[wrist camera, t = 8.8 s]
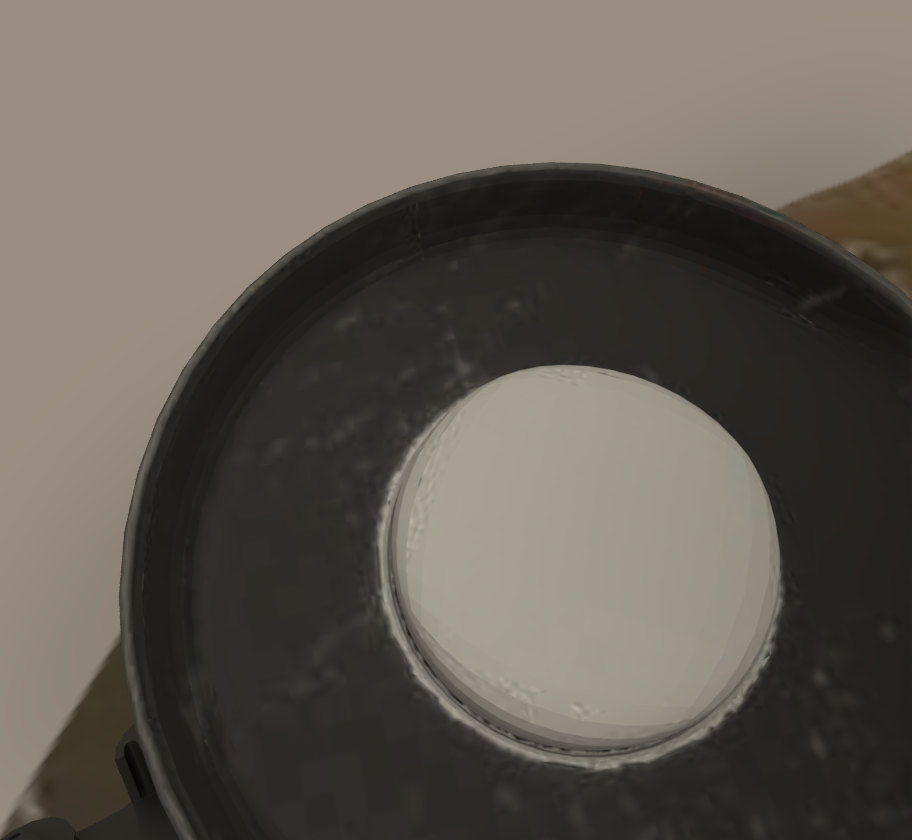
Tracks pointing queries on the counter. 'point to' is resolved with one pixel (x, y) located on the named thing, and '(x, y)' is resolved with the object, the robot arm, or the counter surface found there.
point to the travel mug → (534, 528)
